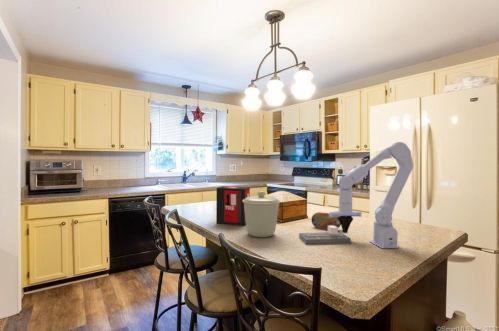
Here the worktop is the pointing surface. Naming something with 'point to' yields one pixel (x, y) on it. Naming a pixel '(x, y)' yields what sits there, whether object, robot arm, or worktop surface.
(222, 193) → the cleaning product box
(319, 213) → the tin
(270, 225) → the canister
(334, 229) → the fader tab
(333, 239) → the fader console
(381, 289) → the worktop surface
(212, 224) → the worktop surface
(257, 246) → the worktop surface
